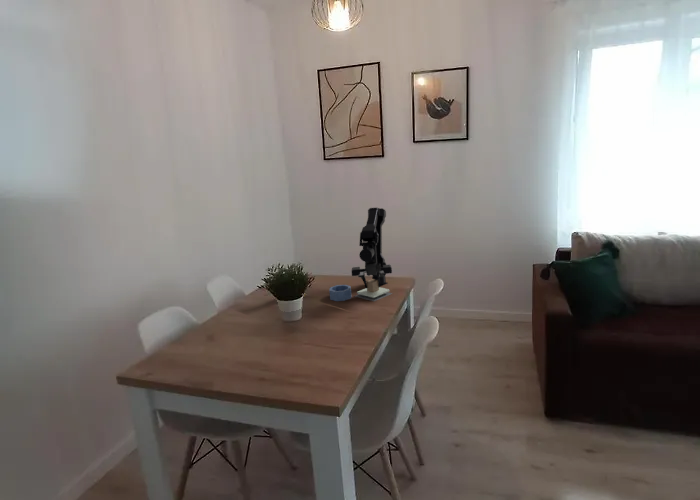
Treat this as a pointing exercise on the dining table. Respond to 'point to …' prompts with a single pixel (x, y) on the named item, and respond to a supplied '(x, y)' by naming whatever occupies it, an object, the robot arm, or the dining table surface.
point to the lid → (373, 289)
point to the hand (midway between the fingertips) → (372, 287)
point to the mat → (373, 298)
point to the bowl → (340, 292)
